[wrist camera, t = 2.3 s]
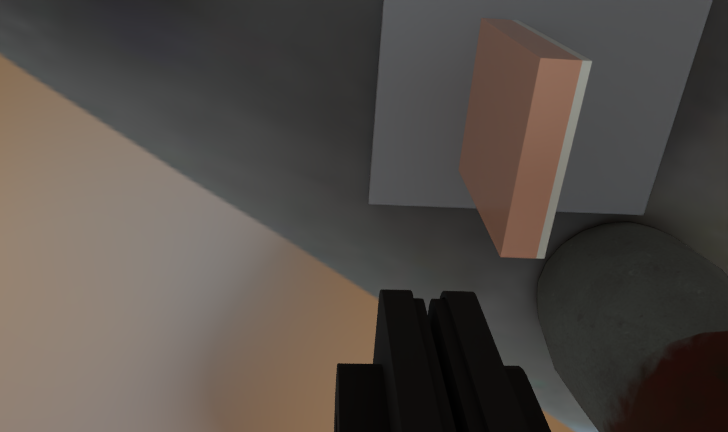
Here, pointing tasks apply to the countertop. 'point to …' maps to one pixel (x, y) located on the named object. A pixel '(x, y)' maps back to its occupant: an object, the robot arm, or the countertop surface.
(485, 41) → the tile
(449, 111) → the mat
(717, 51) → the countertop surface
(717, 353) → the bottle
